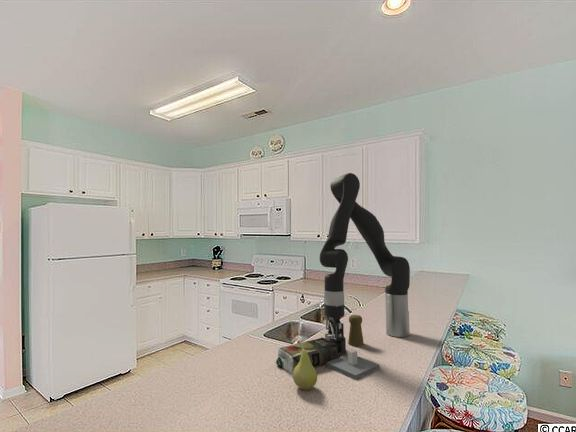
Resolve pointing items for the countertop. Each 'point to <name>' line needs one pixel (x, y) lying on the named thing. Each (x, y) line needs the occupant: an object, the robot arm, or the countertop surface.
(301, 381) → the fruit
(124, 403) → the countertop surface
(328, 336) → the knob
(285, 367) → the juice carton
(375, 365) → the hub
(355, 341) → the cork
